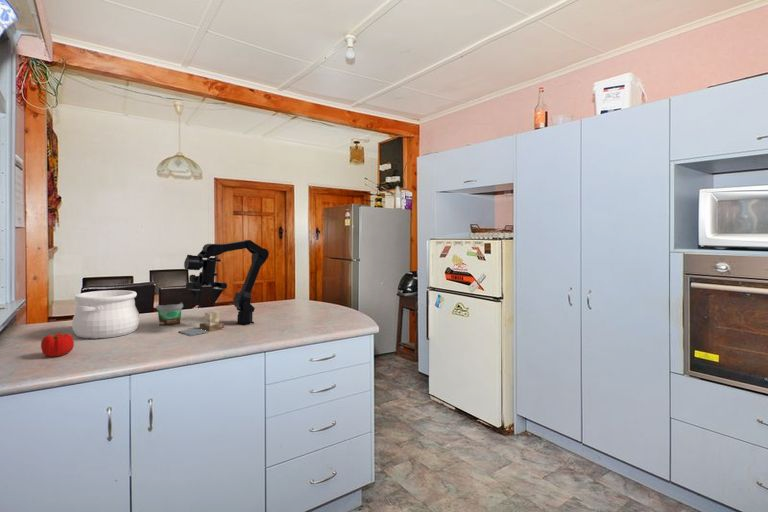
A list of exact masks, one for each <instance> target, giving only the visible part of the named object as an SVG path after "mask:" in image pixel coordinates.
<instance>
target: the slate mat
mask: <svg viewBox="0 0 768 512" xmlns="http://www.w3.org/2000/svg"><path fill="white" fill-rule="evenodd" d="M179 332H180V333H179ZM206 332H208V331H205V330H201V329H199V328H198V327H195V328H194V327H193V328H188V329H183V330H182V329H181V330H179V331H178V333H179V334H182V333H184V334H183V335H185V334H187V335H186V336H189V335H191V336H190V337H193V336H192V335H194V336H198V335H197V334H199V335H203V334H202V333H204V334H207V333H206ZM208 333H209V332H208Z"/></svg>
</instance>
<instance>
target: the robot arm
mask: <svg viewBox="0 0 768 512" xmlns="http://www.w3.org/2000/svg"><path fill="white" fill-rule="evenodd" d="M244 249H246V250H247V251H248V252H249V253H250V254H251V257H250V258H251V265H250V267H249V269H248V271H247V275H246V277H245V280H244V282H243V285H242V287H241V290H240V291H239V292H237V291H235V294H234V297H233V298H232V302H233V305H234V307H235V308H236V310H237V311H238V312H237V319H236V320H237V321H236V322H235V324H237V323H238V324H237V325H241V324H243V325H242V326H246V325H245V324H247V325H251V324H250V323H252V324H255V321H253V317H254V316H253V314H254V312H255V309H256V307H255V306H254V305H252V303H251V302H252V291H253V289H254V285H255V284H256V281H257V278H258V275H259V274H260V269H261V267H262V266H263V265H264V264H265V263H266V261H267V260H268V258H269V255H270V252H269V250H268V249H267V248H263V247H262V246H260V245H259V244H258V243H257V244H256V243H255V242H254V241H253V240H251V239H244V240H239V241H233V242H227V243H226V242H225V243H206V244H203V247H202V249H201V251H200V252H199V253H198V254H197V255H192V254H187V255H186V258H185V259H184V261H183V268H184V269H185V270H188V271H200V270H201V271H200V272H199V274H198V275H195V274H190V275H189V278H188V279H189V281H188V282H186V284H185V289H187V290H188V291H190V292H191V293H192V295H193V299H194V302H195V304H196V306H198V305H199V303H200V302H201V297H202V293H203V290H202V289H203V288H205V289H206V288H211V290H212V304H216V302H217V300H218V299H219V297H220V296H221V294H222V293H223V292H224V291H225V290H227V289H228V284H227V282H223V281H215V278H216V277H217V276H218V273H217V272H216V267H217V263H218V262H222V260H221V259H220V258H219V255H222V254H224V253H226V252H231V251H238V250H244Z"/></svg>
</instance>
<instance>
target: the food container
mask: <svg viewBox="0 0 768 512" xmlns="http://www.w3.org/2000/svg"><path fill="white" fill-rule="evenodd" d="M183 308H184V304H183V302H181V301H180V303H176V304H174V303H173V304H171V303H170V304H166V305H164V304H163V305H162V304H161V305H160V304H156V308H155V309H156V310H157V314H158V315H157V316H158V323H159V326H161V327H162V326H163V327H168V326H169V327H172V326H177V325H180V324H181V319H182V311H183V310H182V309H183Z"/></svg>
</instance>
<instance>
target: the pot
mask: <svg viewBox="0 0 768 512" xmlns="http://www.w3.org/2000/svg"><path fill="white" fill-rule="evenodd" d="M137 295H138V294H137V292H136V291H134V290H124V289H121V290H119V289H114V290H110V289H109V290H96V291H87V292H82V293H78V294H75V296H74V300H75V301H76V302H77V304H76V307H75V313H74V315H73V317H72V321H71V325H72V328H71V329H72V331H73V332H74V334H75V335H76V336H77V337H78V338H83V339H88V338H91V340H92V339H95V340H97V339H98V338H100V339H109V338H118V337H122V336H126V335H129V334H133V332H135V331H136V330H137V328H138V327H139V324H140V321H141V320H140V319H141V318H140V313H139V310H138V309H137V307H136V306H137V305H136V301H135V298H137Z"/></svg>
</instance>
